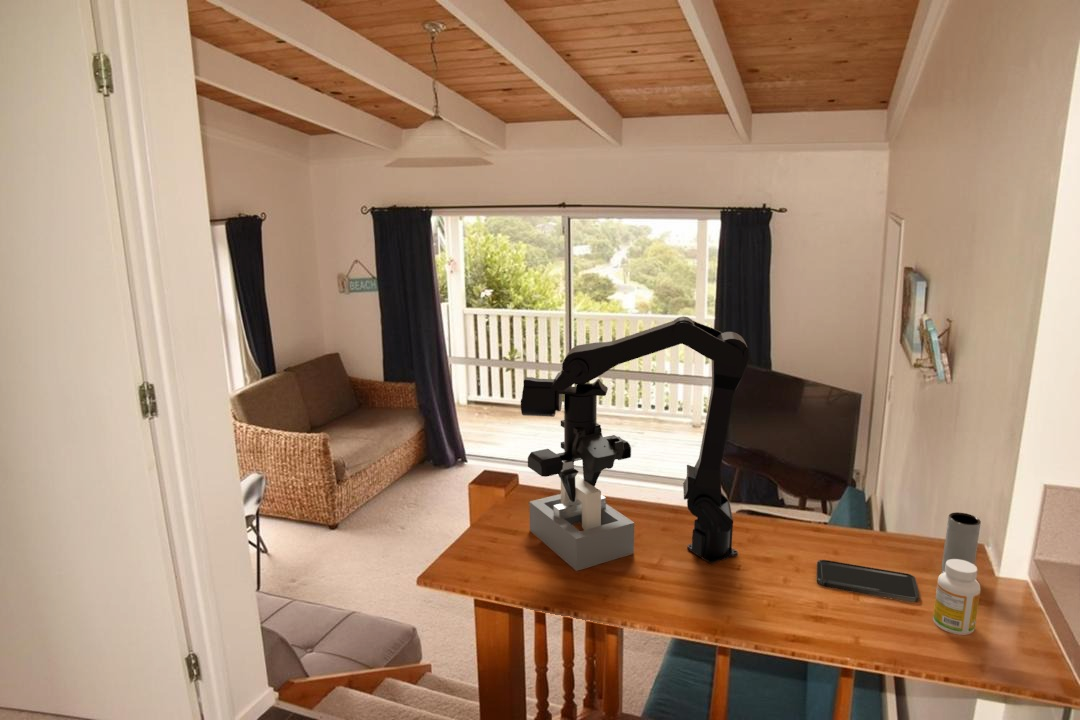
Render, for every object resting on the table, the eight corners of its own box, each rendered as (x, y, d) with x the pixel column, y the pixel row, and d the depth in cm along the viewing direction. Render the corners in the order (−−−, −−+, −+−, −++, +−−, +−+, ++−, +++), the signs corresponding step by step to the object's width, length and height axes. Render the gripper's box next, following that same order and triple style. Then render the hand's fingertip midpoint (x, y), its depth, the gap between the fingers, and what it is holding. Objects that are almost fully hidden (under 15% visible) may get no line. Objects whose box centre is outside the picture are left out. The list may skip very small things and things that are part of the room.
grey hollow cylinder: (976, 583, 114) (985, 525, 112) (946, 580, 115) (954, 523, 113) (966, 569, 119) (974, 513, 116) (937, 566, 120) (944, 511, 117)
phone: (817, 558, 121) (914, 574, 116) (816, 564, 122) (913, 580, 116) (817, 581, 114) (920, 599, 109) (816, 587, 114) (919, 606, 109)
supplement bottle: (959, 613, 106) (968, 555, 104) (982, 635, 101) (992, 574, 99) (924, 614, 106) (932, 556, 104) (946, 636, 101) (954, 575, 99)
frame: (583, 516, 140) (583, 488, 138) (633, 553, 125) (634, 522, 124) (529, 530, 134) (529, 501, 133) (576, 571, 120) (576, 538, 118)
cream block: (574, 508, 133) (574, 473, 131) (600, 527, 125) (601, 491, 124) (560, 511, 132) (560, 477, 130) (586, 531, 124) (586, 494, 122)
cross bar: (599, 503, 131) (600, 493, 131) (605, 507, 130) (606, 497, 129) (553, 515, 127) (553, 505, 126) (559, 520, 125) (559, 509, 125)
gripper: (557, 440, 113) (558, 529, 116) (650, 421, 121) (648, 504, 125) (525, 421, 122) (527, 503, 126) (614, 405, 131) (613, 482, 135)
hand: (580, 499), depth 128 cm, fingers closed on cream block, 3 cm apart
